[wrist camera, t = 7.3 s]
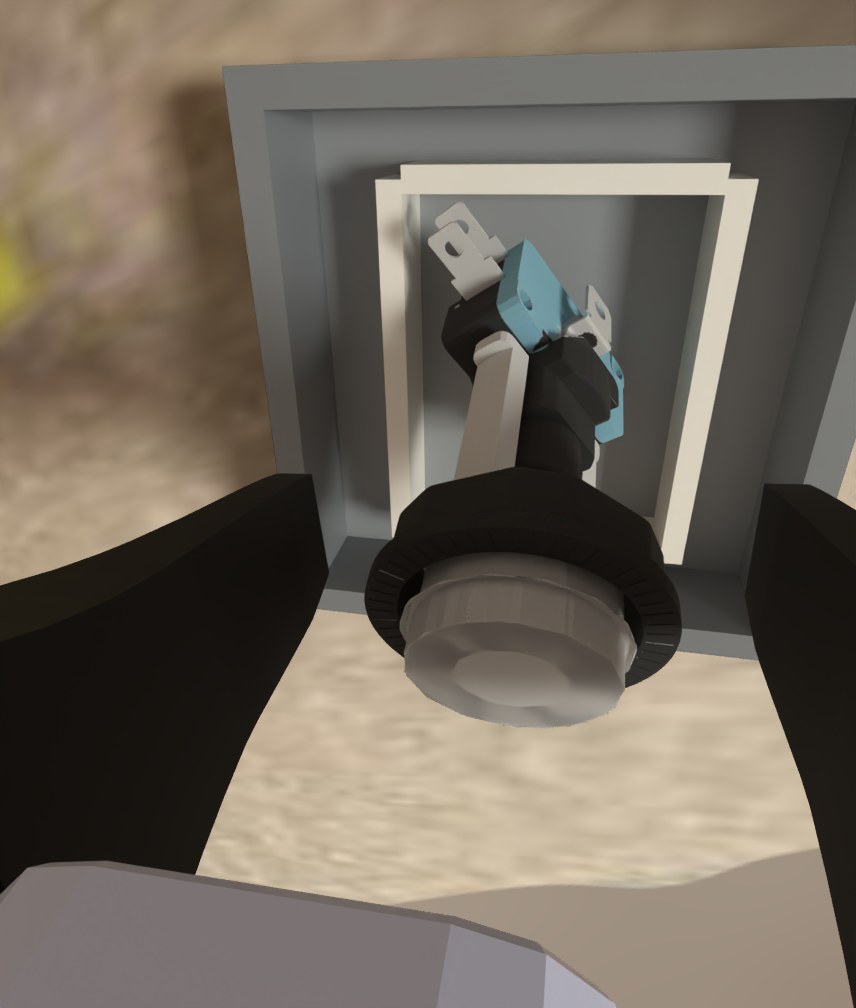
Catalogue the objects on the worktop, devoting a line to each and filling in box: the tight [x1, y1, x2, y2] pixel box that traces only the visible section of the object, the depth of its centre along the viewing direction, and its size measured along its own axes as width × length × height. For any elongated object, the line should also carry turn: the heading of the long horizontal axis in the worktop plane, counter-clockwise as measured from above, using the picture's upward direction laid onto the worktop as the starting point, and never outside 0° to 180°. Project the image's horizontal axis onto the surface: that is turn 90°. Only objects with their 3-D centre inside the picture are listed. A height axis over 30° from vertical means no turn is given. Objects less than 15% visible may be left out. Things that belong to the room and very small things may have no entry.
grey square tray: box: [222, 45, 856, 660], centre depth 18 cm, size 14×14×4 cm
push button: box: [364, 201, 682, 728], centre depth 14 cm, size 7×5×10 cm
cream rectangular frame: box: [375, 159, 759, 565], centre depth 18 cm, size 8×10×2 cm
